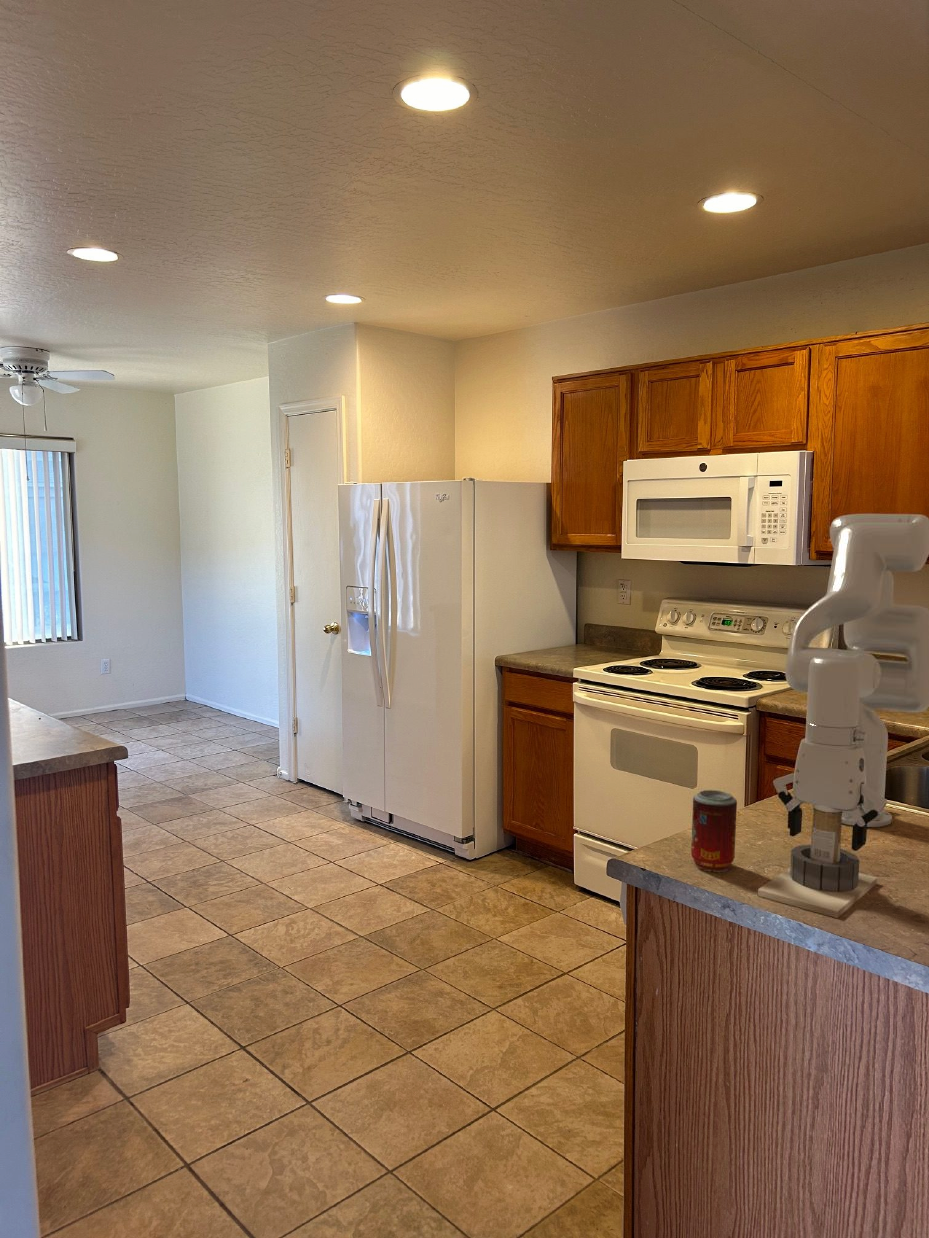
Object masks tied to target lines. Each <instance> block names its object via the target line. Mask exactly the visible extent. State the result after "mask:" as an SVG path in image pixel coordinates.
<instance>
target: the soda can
mask: <svg viewBox="0 0 929 1238" xmlns="http://www.w3.org/2000/svg"><path fill="white" fill-rule="evenodd" d="M737 804H738V802H737V799H736V798H735V797H734V796H733V795H732V794H730V793H728V792H725V791H721V790H715V789H705V790H702V791H701V790H700V792H698V793H696V794H695V795H693V798H692V815H691V816H692V819H691V822H692V823H691V824H692V825H691V848H690V854H691V855H690V856H691V857H692V859H693V861H694V865H695V867H696V866H697V867H696V868H698V869H700V868H701V869H700V870H702V869H704V870H703V871H707V872H711V871H713V873H714V872H715V873H717V872H718V873H721V872H722V871H723V872H727V871H728V869H730V868H731V864H732V863H733V862H734V860H735V858H736V856H735V853H736V851H735V850H736V834H737V833H736V830H737V825H736V824H737V807H738V805H737Z"/></svg>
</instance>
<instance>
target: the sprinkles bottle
mask: <svg viewBox="0 0 929 1238" xmlns="http://www.w3.org/2000/svg"><path fill="white" fill-rule="evenodd" d="M812 810H813V814H812V826H811V837H810V838H811V839H810V845H811V852H810V857H811V859H810V860H814V861H818V862H822V863H834V864H837V863H839V861H840V849H842V847H841V846H842V843H841V841H842V837H841V836H842V824H843V823H842V813H843V811H842V810H836V809H833V808H830V807H827V806H824V805H812Z"/></svg>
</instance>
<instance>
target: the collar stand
mask: <svg viewBox="0 0 929 1238" xmlns="http://www.w3.org/2000/svg"><path fill="white" fill-rule="evenodd" d="M810 852H811V843H810V844H802V845H801V844H800V845H797V846H795V847H794V848H791V850H790V867H788V869H786V870H784V871H783V872H780V874H778V875H777V876H775V877H774V878H773V879H771V880H770V881H768V882H767V883H765V884H764V885H763V886H761V887H759V888H758V889H757V896H758V897H761V898H764V899H768V900H772V901H775V902H779V903H783V904H786V905H788V906H789V905H790V906H793V907H797V908H801V909H804V910H806V911H809V912H810V911H811V912H814V913H818V914H821V915H823V916H829V917H831V918H835V919H838V918H839V917H840V916H842V915H843V914H844V913H845V912H846V911H848V910H849V909H850V908H851V907H852V906H853V905H854V904H855V903H856V902H858V901H859V900H860V899H861V898H862V897H863V896H865V895H866V894H867V893H868V892H869V891H871V889H872V888H874V887H875V886H876V885H877V884H878V877H876V876H873V875H869V874H864V873H861V872H860V859H859V858H858V856H857V855H856V854H855V853H852V852H850V851H848V850H846V849H843V848H841V849H840V861H839V863H837V864H834V863H822V862H818V861H814V860H810V859H811V857H810Z"/></svg>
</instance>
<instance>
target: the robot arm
mask: <svg viewBox="0 0 929 1238" xmlns="http://www.w3.org/2000/svg"><path fill="white" fill-rule="evenodd" d="M829 538H830V542H831V546H832V548H833V553H832V560H831V566H830V572H829V578H828V583H827V591H826V594H825V595H824V596H823V597H821V598H820V599H819V600H817V601H816V602H815V603H813V604H812V605H811V606H809V608H807V610H806V611H804V613H803V614H802V615H801V616H800V618H799V619H798V620H797V622H796V623H795V625H794V627H793V629H792V632H791V635H790V639H789V646H788V650H787V655H786V661H785V672H784V673H785V680H786V682H787V685H788V686H789V687H790V688H791V689H792V690H794V691H796V692H801V693H807V695H806V696H807V699H806V701H807V702H806V717H805V719H806V722H805V723H806V724H805V738H802V739H801V741H800V744H799V748H798V752H797V756H796V760H795V766H794V772H792V773H790V774H787V775H784V776H781V777H777V778H775V779H774V780H773V781H772V783H773V786H774V788H775V790H776V792H777V796H778V799H780V801H781V802H782V803H783V805H784V807H785V810H787V812H788V813H787V829H789V836H790V837H795V836H797V835H799V834H801V832H802V828H803V827H802V825H803V824H802V821H803V809H802V807H801V805H802V804H803V803H804V804H808V805H812V806H813V805H824V806H827V807H830V808H833V809H836V810H842V811H843V813H842V824H844V825H847V826H852V831H851V832H852V834H851V850H852V851H853V852H857V851H859V850H860V849H862V847H863V846H865V845H866V843H867V835H868V833H867V832H868V828H880V827H885V826H889V825H890V824H891V823H892V822H893V815H892V814H891V813H890V812H888V811H887V810H885V809H884V808H885V807H886V806H887V804H888V800H887V799H886V798H885V792H886V777H887V776H886V774H887V757H888V744H889V743H888V742H889V741H888V740H889V735H888V729H887V727H886V725H885V723H884V721H883V719H881V717H880V716H879V715H878V714H877V712H876V711H877V710H878V711H881V710H882V711H883V710H885V711H895V712H902V713H903V712H904V713H922V712H925V711H926V710H928V708H929V608H928V607H925V606H921V605H914V604H898V603H897V604H896V603H894V587H895V579H894V576H893V573H892V572H912V573H913V572H917V571H918V572H919V571H920V570H921V569H922V568H924V566H925V564H926V562H927V560H928V557H929V517H928V516H926V515H924V514H919V513H918V514H917V513H916V514H915V513H914V514H913V513H911V514H910V513H906V514H905V513H855V514H854V513H853V514H846V515H845V514H844V515H841V516H838V517H836V518H834V519H833V521H832V522H831V524H830V527H829ZM840 625H843V640H844V643H845V645H846V646H847V647H848V648H849V649H840V648H825V647H824V648H823V647H810V644H811V643H812V641H813V640H814V639H815V638H816V637H817V636H818V635H820V634H821V633H823V632H825V631H826V630H829V629H831V628H834V627H837V626H840ZM871 653H874V654H888V655H900V656H904V657H905V658H906V660H907V661H898V660H885V659H877V658H876V657H875V656H874V655H873V654H871ZM875 710H876V711H875ZM791 783H792V794H791V793H790V791H788V789H787V786H786V785H788V784H791ZM792 795H793V796H792Z"/></svg>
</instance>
